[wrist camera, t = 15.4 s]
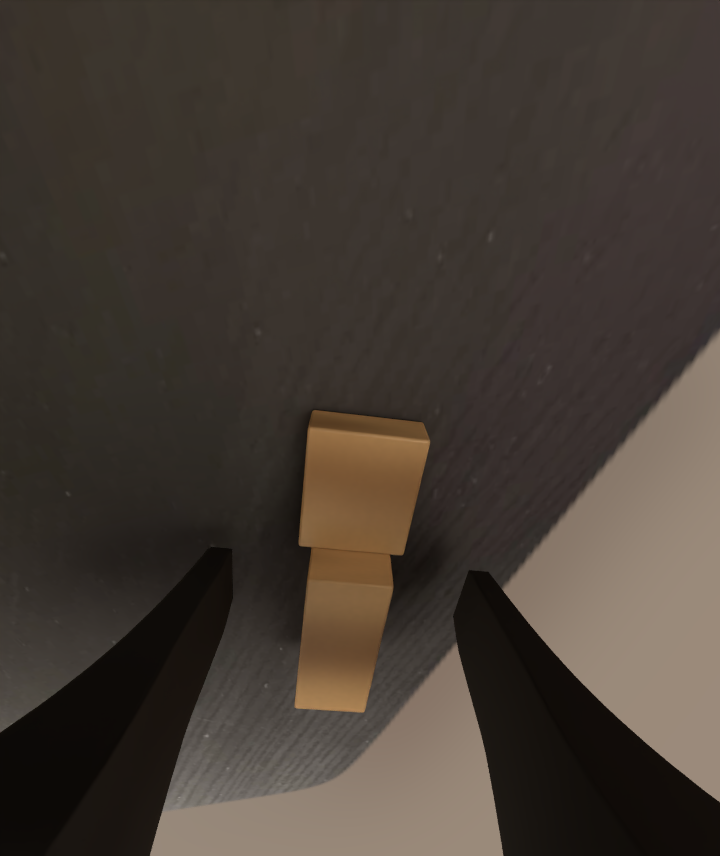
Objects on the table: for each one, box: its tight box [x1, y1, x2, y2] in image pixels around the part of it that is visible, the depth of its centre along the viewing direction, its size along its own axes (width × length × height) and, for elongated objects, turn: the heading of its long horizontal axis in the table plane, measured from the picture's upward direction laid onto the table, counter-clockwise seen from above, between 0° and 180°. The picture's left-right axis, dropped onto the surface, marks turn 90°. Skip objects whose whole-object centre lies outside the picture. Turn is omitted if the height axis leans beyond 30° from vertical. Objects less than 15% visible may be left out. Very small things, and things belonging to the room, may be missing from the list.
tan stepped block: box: [295, 410, 430, 712], centre depth 12 cm, size 10×3×2 cm, turn 172°
